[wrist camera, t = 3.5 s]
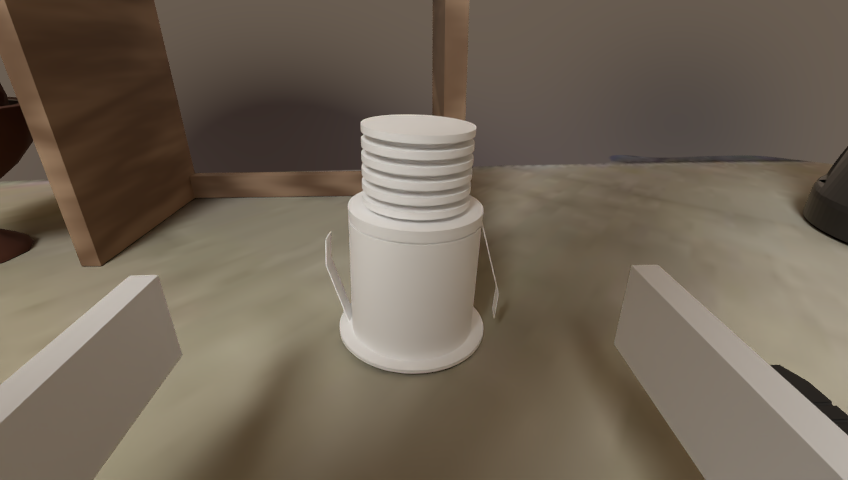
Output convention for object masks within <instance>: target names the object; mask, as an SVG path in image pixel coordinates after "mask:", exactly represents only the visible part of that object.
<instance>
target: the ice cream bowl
mask: <svg viewBox="0 0 848 480" xmlns="http://www.w3.org/2000/svg"><path fill="white" fill-rule="evenodd" d="M32 142H33V138H32V136H31V133H30V130H29V128H28V125H27V123H26V120H25V117H24V115H23V112H22V110H21V107H20V104H19V102H18V99H17V98H16V97H7V95H6V93H5V91H4V90H3V87H2V86H1V84H0V178H2V177H3V176H4V175H5V174H6V173H7V172H8V171H9V170H11V169H12V168H13V167H14V166H15V165H16V164H17V163H18V162H19V161H20V159H21V158H22V156H23V155H24V153H25V152H26V150H27V149H28V148H29V146H30V145H31V143H32ZM33 243H34V240H33V239H32V238H31V237H30V236H29V235H27V234H23V233H20V232H16V231H11V230H5V229H0V263H3V262H6V261H8V260H10V259H12V258H14V257H16V256H18V255H20V254H22V253H25V252H27V251H29V250H30V248H31V246H32V244H33Z"/></svg>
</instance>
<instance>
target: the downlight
mask: <svg viewBox="0 0 848 480" xmlns="http://www.w3.org/2000/svg"><path fill="white" fill-rule="evenodd" d="M361 132H362V133H363V135H362V136H361V147H362V148H363V150H362V151H361V160H362V162H363V164H362V176H363V178H362V189H363V191H362V192H360V193H358V194H356V195H354V196H353V197H352V198H351V199H350V200H349V202H348V221H349V248H350V274H351V301H352V302H351V303H350V302H349V300H348V297H347V295H346V292H345V290H344V287H343V285H342V282H341V280H340V277H339V275H338V272H337V270H336V267H335V265H334V262H333V260H332V257H331V231H330V232H329V234H328V236H327V237H326V239H325V251H326V267H327V270H328V272H329V275H330V277H331V280H332V282H333V285H334V287H335V290H336V292H337V294H338V297H339V299H340V302H341V304H342V307H343V309H344V312H343V314H342V316H341V319H340V335H341V338H342V341H343V343H344V345H345V346H346V347H347V349H348V350H349V351H350V352H351V353H352V354H353V355H354V356H356V357H357V358H359V359H360V360H362V361H363V362H365V363H367V364H369V365H372V366H374V367H377V368H380V369H383V370H387V371H391V372H397V373H410V374H417V373H430V372H435V371H440V370H444V369H447V368H450V367H452V366H455V365H457V364H459V363H461V362H462V361H464V360H466V359H467V358H468V357H470V356H471V355H472V354H473V353H474V352H475V351H476V349H477V348H478V346H479V345H480V343H481V340H482V337H483V322H482V319H481V316H480V315H479V313H478V311H477V310H476V309H475V308H474V307H473V303H474V294H475V285H476V275H477V266H478V256H479V247H480V238H481V228H483V233H484V237H485V241H486V245H487V250H488V254H489V258H490V263H491V267H492V271H493V276H494V280H495V284H496V288H495V293H494V299H493V305H492V312H493V318H495V313H496V308H497V302H498V297H499V292H498V287H497V283H496V278H495V274H494V270H493V265H492V261H491V257H490V252H489V248H488V244H487V239H486V235H485V231H484V226H483V222H482V219H483V211H484V210H483V206H482V204H481V203H480V202H479V201H478V200H477V199H476V198H474V197H472V196H471V195H469V194H470V192H471V179H472V168H471V167H472V166H473V159H474V156H473V154H472V152H474V148H475V141H474V139H472V138H474V137H475V136H476V126H475V125H474V124H472V123H470V122H467V121H464V120H460V119H455V118H449V117H442V116H431V115H406V114H405V115H383V116H376V117H370V118H367V119H364V120H362V121H361Z"/></svg>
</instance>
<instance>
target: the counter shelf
mask: <svg viewBox="0 0 848 480" xmlns="http://www.w3.org/2000/svg"><path fill="white" fill-rule="evenodd" d="M468 21H469V0H433V112H432V113H433V114H432V116H442V117H449V118H455V119H460V120H464V121H465V112H466V82H467V53H468V24H469V23H468ZM0 55H1V58H2V60H3V63H4V65H5V68H6V71H7V73H8V76H9V78H10V81H11V84H12V86H13V89H14V91H15V94H16V97H17V99H18V102H19V104H20V107H21V110H22V112H23V115H24V117H25V120H26V123H27V125H28V128H29V130H30V133H31V136H32V138H33V141H34V143H35V146H36V148H37V151H38V153H39V156H40V159H41V161H42V164H43V167H44V169H45V172H46V174H47V177H48V180H49V182H50V185H51V187H52V190H53V193H54V195H55V198H56V200H57V203H58V206H59V208H60V211H61V213H62V216H63V219H64V221H65V224H66V226H67V229H68V232H69V234H70V237H71V239H72V242H73V245H74V247H75V250H76V252H77V255H78V258H79V260H80V263H81V265H82V266H102V265H103V264H105V263H106V262H107V261H109V260H110V259H111V258H113V257H114V256H116V255H117V254H118V253H120V252H121V251H122V250H124V249H125V248H126V247H128V246H129V245H131V244H132V243H133V242H135V241H136V240H137V239H139V238H140V237H142V236H143V235H144V234H146V233H147V232H148V231H150V230H151V229H153V228H154V227H155V226H157V225H158V224H159V223H161V222H162V221H164V220H165V219H166V218H168V217H169V216H170V215H172V214H173V213H175V212H176V211H177V210H179V209H180V208H181V207H183V206H184V205H186V204H187V203H188V202H190V201H191V200H192V199H194V198H218V197H289V196H354V195H356V194H358V193H360V192H362V191H363V189H362V178H363V176H362V171H335V172H257V173H195V172H194V169H193V164H192V160H191V156H190V151H189V147H188V143H187V139H186V134H185V130H184V126H183V122H182V118H181V113H180V109H179V105H178V100H177V96H176V92H175V88H174V83H173V79H172V75H171V71H170V67H169V62H168V58H167V54H166V50H165V45H164V41H163V37H162V33H161V28H160V24H159V20H158V16H157V12H156V7H155V3H154V0H0Z"/></svg>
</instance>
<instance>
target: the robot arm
mask: <svg viewBox="0 0 848 480" xmlns="http://www.w3.org/2000/svg"><path fill="white" fill-rule="evenodd" d="M803 214H804V216H805V218H806V219H807V220H808V221H809V222H810V223H811V224H813V225H814V226H816V227H817V228H819V229H820V230H822V231H824V232H826V233H828V234H830V235H832V236H834V237H836V238H838V239H840V240H843V241H845V242H847V243H848V147H847V148H846V149H845V151H844V152H843V153H842V154H841V155H840V157H839V158H838V159H837V161H836V162H835V163H834V165H833V166H832V167H831V169H830V170H829V172H828V173H827V175H824V176H822V177H820V178H819V179H818V180H817V182H816V183H815V184H814V186H813V187H812V189H811V192H810V194H809V197H808V199H807V202H806V205H805V207H804V210H803ZM614 345H615V347H616V348H617V350H618V351H619V352H620V354H621V355H622V357H623V358H624V360H625V361H626V363H627V364H628V366H629V367H630V369H631V370H632V372H633V373H634V375H635V376H636V378H637V379H638V381H639V382H640V384H641V385H642V387H643V388H644V390H645V391H646V392H647V394H648V395H649V397H650V398H651V400H652V401H653V403H654V404H655V406H656V407H657V409H658V410H659V412H660V413H661V415H662V416H663V418H664V419H665V421H666V422H667V424H668V425H669V427H670V428H671V429H672V431H673V432H674V434H675V435H676V437H677V438H678V440H679V441H680V443H681V444H682V446H683V447H684V449H685V450H686V452H687V453H688V455H689V456H690V458H691V459H692V461H693V462H694V464H695V465H696V467H697V468H698V469H699V471H700V472H701V474H702V475H703V477H704V478H705V480H848V415H847V414H846V413H844V412H843V411H842V410H841V409H840V408H839V407H837V406H833V405H832V401H830V400H829V399H828V398H827V397H826V396H825V395H823V394H822V393H821V392H820V391H819V390H818V389H816V388H815V387H814V386H813V385H812V384H810V383H809V382H808V381H806V380H805V379H803V378H801V377H799V376H798V375H796V374H794V373H792V372H791V371H789V370H787V369H785V368H784V367H782V366H780V365H769V364H768V363H767V362H766V361H765V360H764V359H762V358H761V357H760V356H759V355H758V354H757V353H756V352H755V351H754V350H752V349H751V348H750V347H749V346H748V345H747V344H746V343H745V342H744V341H742V340H741V339H740V338H739V337H738V336H737V335H736V334H735V333H734V332H732V331H731V330H730V329H729V328H728V327H727V326H726V325H725V324H724V323H722V322H721V321H720V320H719V319H718V318H717V317H716V316H715V315H714V314H712V313H711V312H710V311H709V310H708V309H707V308H706V307H705V306H704V305H702V304H701V303H700V302H699V301H698V300H697V299H696V298H695V297H694V296H692V295H691V294H690V293H689V292H688V291H687V290H686V289H685V288H684V287H682V286H681V285H680V284H679V283H678V282H677V281H676V280H675V279H674V278H672V277H671V276H670V275H669V274H668V273H667V272H666V271H665V270H663V269H662V268H661V267H660V266H659V265H631V269H630V273H629V278H628V282H627V287H626V291H625V296H624V300H623V305H622V309H621V314H620V318H619V323H618V327H617V331H616V336H615V340H614ZM181 356H182V352H181V348H180V345H179V342H178V339H177V335H176V332H175V329H174V325H173V322H172V319H171V316H170V312H169V309H168V306H167V302H166V299H165V296H164V293H163V289H162V286H161V283H160V279H159V276H158V275H134V276H129V277H127V278H126V279H125V280H124V281H123V282H122V283H120V284H119V285H118V286H117V287H116V288H114V289H113V290H112V291H111V292H110V293H108V294H107V295H106V296H105V297H104V298H103V299H101V300H100V301H99V302H98V303H97V304H95V305H94V306H93V307H92V308H91V309H90V310H88V311H87V312H86V313H85V314H84V315H82V316H81V317H80V318H79V319H78V320H76V321H75V322H74V323H73V324H72V325H71V326H69V327H68V328H67V329H66V330H65V331H63V332H62V333H61V334H60V335H59V336H58V337H56V338H55V339H54V340H53V341H52V342H50V343H49V344H48V345H47V346H46V347H45V348H43V349H42V350H41V351H40V352H39V353H37V354H36V355H35V356H34V357H33V358H31V359H30V360H29V361H28V362H27V363H26V364H24V365H23V366H22V367H21V368H20V369H18V370H17V371H16V372H15V373H14V374H13V375H11V376H10V377H9V378H8V379H7V380H5V381H4V382H3V383H2V384H1V385H0V480H93V479H94V478H95V476H96V475H97V474H98V472H99V471H100V469H101V468H102V467H103V465H104V464H105V462H106V461H107V460H108V458H109V457H110V455H111V454H112V453H113V451H114V450H115V448H116V447H117V446H118V444H119V443H120V441H121V440H122V439H123V437H124V436H125V435H126V433H127V432H128V430H129V429H130V428H131V426H132V425H133V423H134V422H135V421H136V419H137V418H138V416H139V415H140V414H141V412H142V411H143V409H144V408H145V407H146V405H147V404H148V402H149V401H150V400H151V398H152V397H153V395H154V394H155V393H156V391H157V390H158V389H159V387H160V386H161V384H162V383H163V382H164V380H165V379H166V377H167V376H168V375H169V373H170V372H171V370H172V369H173V368H174V366H175V365H176V363H177V362H178V361H179V359H180V358H181Z"/></svg>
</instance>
